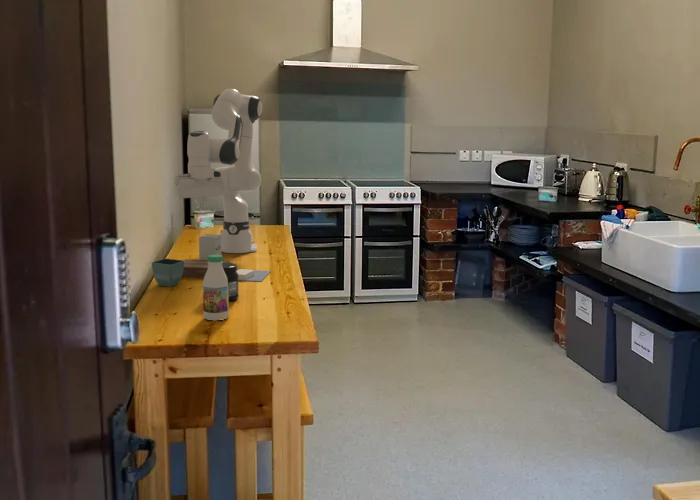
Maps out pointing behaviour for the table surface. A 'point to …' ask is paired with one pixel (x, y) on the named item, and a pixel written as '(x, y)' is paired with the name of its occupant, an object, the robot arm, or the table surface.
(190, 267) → the board
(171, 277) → the flower pot
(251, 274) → the beige rectangular block
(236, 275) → the supplement container
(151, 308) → the table surface
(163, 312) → the table surface
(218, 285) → the milk bottle
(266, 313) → the table surface
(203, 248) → the supplement box
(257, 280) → the mat
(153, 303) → the table surface
